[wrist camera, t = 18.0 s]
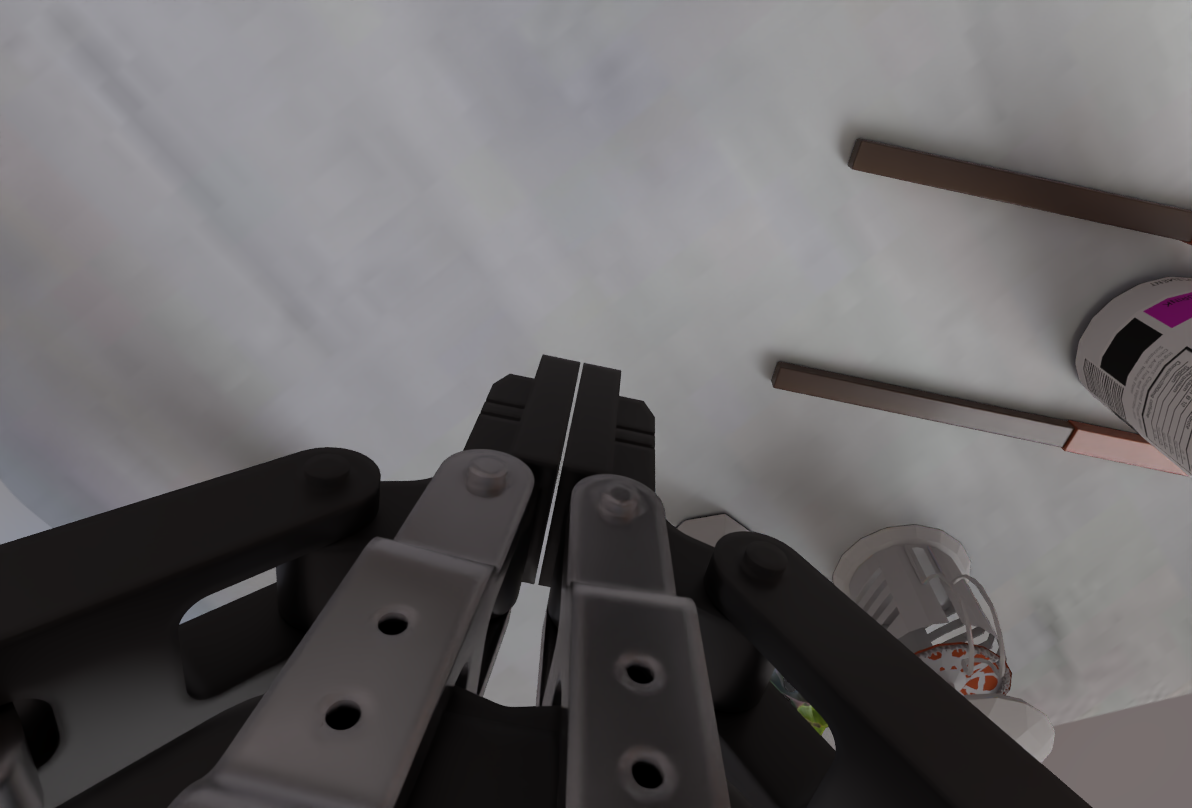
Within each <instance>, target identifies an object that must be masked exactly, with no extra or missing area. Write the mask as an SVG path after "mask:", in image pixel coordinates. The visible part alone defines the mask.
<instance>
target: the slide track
mask: <svg viewBox="0 0 1192 808" xmlns="http://www.w3.org/2000/svg"><path fill="white" fill-rule="evenodd" d="M848 167H850V168H851V169H853V170H858V171H862V172H867V173H872V174H876V175H881V176H886V177H890V178H895V179H899V180H904V181H909V182H913V183H918V184H922V185H927V186H932V187H936V188H941V189H946V190H950V191H955V192H959V193H964V194H969V195H973V196H978V197H982V198H987V199H992V200H996V201H1001V202H1006V203H1010V204H1015V205H1019V206H1024V207H1029V208H1033V209H1038V210H1042V211H1047V212H1052V213H1056V214H1061V215H1066V216H1070V217H1075V218H1079V219H1084V220H1089V221H1093V222H1098V223H1102V224H1107V225H1112V226H1116V227H1121V228H1126V229H1130V230H1135V231H1139V232H1144V233H1149V234H1153V235H1158V236H1162V237H1167V238H1172V239H1176V240H1180V241H1182V242H1185V243H1187V244H1190V245H1192V211H1191V210H1186V209H1182V208H1177V207H1173V206H1168V205H1163V204H1159V203H1154V202H1150V201H1145V200H1140V199H1136V198H1131V197H1127V196H1122V195H1118V194H1113V193H1108V192H1104V191H1099V190H1095V189H1090V188H1085V187H1081V186H1076V185H1072V184H1067V183H1063V182H1058V181H1053V180H1049V179H1044V178H1040V177H1035V176H1030V175H1026V174H1021V173H1017V172H1012V171H1008V170H1003V169H998V168H994V167H989V166H985V165H980V164H975V163H971V162H966V161H962V160H957V159H952V158H948V157H943V156H939V155H934V154H930V153H925V152H920V151H916V150H911V149H907V148H902V147H897V146H893V145H888V144H884V143H879V142H875V141H870V140H865V139H861V138H857V140H856V143H855V146H854V149H853V151H852V154H851V157H850V160H849V163H848ZM771 382H772V385H773V387H774V388H777V389H782V390H787V391H792V392H796V393H801V394H806V395H811V396H816V397H821V398H825V399H830V400H835V401H840V402H845V403H850V404H854V405H859V406H864V407H869V408H874V409H879V410H884V411H888V412H893V413H898V414H903V415H908V416H913V417H917V418H922V419H927V420H932V421H937V422H942V423H946V424H951V425H956V426H961V427H966V428H971V429H975V430H980V431H985V432H990V433H995V434H1000V435H1004V436H1009V437H1014V438H1019V439H1024V440H1029V441H1033V442H1038V443H1043V444H1048V445H1053V446H1058V447H1061V448H1062V449H1063V450H1064V451H1068V452H1073V453H1077V454H1082V455H1087V456H1092V457H1097V458H1102V459H1106V460H1111V461H1116V462H1121V463H1126V464H1131V465H1136V466H1140V467H1145V468H1150V469H1155V470H1160V471H1165V472H1169V473H1174V474H1179V475H1184V476H1189V475H1187V474H1186V473H1185V472H1184V471H1183V470H1181V469H1180V468H1179V467H1178V466H1177V465H1175V464H1174V463H1173V462H1172V461H1171V460H1169V459H1168V458H1167V457H1166V456H1165V455H1163V454H1162V453H1161V452H1160V451H1159V450H1157V449H1156V448H1155V447H1154V446H1153V445H1151V444H1150V443H1149V442H1148V441H1147V440H1145V439H1144V438H1143V437H1142V436H1141V435H1139V434H1134V433H1129V432H1124V431H1120V430H1115V429H1110V428H1105V427H1100V426H1096V425H1091V424H1086V423H1081V422H1076V421H1072V420H1068V421H1064V420H1059V419H1054V418H1050V417H1045V416H1040V415H1035V414H1030V413H1025V412H1021V411H1016V410H1011V409H1006V408H1001V407H997V406H992V405H987V404H982V403H977V402H973V401H968V400H963V399H958V398H953V397H949V396H944V395H939V394H934V393H929V392H924V391H920V390H915V389H910V388H905V387H900V386H896V385H891V384H886V383H881V382H876V381H872V380H867V379H862V378H857V377H852V376H848V375H843V374H838V373H833V372H828V371H823V370H819V369H814V368H809V367H804V366H799V365H795V364H790V363H785V362H780V361H778V363H777V366H776V369H775V371H774V374H773V377H772V380H771ZM1189 477H1190V476H1189Z"/></svg>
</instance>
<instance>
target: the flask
mask: <svg viewBox="0 0 1192 808" xmlns="http://www.w3.org/2000/svg"><path fill="white" fill-rule="evenodd" d="M677 529H678V530H680V531H681V532H683V533H685V534H686V535H688V536H690V537H693V538H695V539H697V540H699V541H702V542H704V543H706V544H709V545H711V546H713V547H715V545H716V543H717V541H718V540H719V539H720V538H721V537H723V536H724V535H726V534H729V533H732V532H738V531H748V530H747V529H746V528H744V527H743V526H741V525H740V524H739V523H737V522H736V521H734V520H733V519H731V518H730V517H729V516H727V515H726V514H721V515H715V516H709V517H704V518H698V519H692V520H686V521H684V522H683V523H682V524H681V525H680V526H679V527H678V528H677Z"/></svg>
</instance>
